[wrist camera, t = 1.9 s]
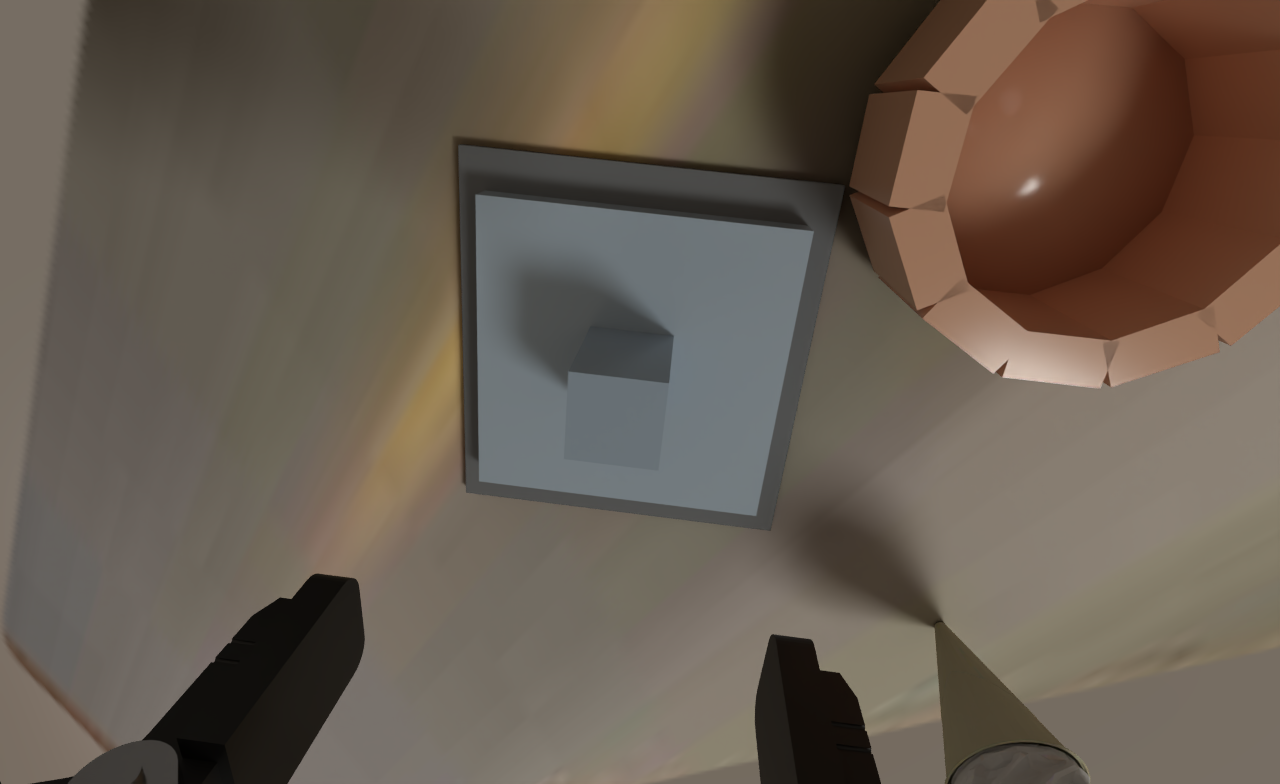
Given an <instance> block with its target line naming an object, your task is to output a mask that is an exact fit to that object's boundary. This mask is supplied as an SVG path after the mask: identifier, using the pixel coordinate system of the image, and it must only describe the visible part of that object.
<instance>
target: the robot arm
mask: <svg viewBox="0 0 1280 784" xmlns="http://www.w3.org/2000/svg"><path fill="white" fill-rule="evenodd" d="M364 641H365V636H364V626H363V617H362V608H361V599H360V590H359V584H358V582H357V580H356V579H354V578H347V577H339V576H332V575H324V574H314V575H312V576H311V577H310V578H309V579H308V580H307V581H306V582H305V583H304V585H303V586H302V587H301V588H300V589H299V591H298V592H297V593H296V594H295V595H294V597H293V598H292V599H287V598H279V599H277V600H276V601H274V602H273V603H271V604H270V605H268V606H267V607H265V608H263V609H262V610H260V611H259V612H257V613H256V614H254V615H253V616H252V617H251V618H250V619H249V620H248V621H247V622H246V623H245V625H244V626H243V627H242V628H241V629H240V630H239V631H238V633H237V634H236V635H235V636H234V637H233V638H232V642H231V643H228V644H227V645H226V646H225V647H224V648H223V650H222V651H221V652H220V653H219V654H218V655H217V656H216V659H215V661H214V663H212V662H211V663H210V664H209V666H208V667H207V668H206V669H205V670H204V671H203V672H202V673H201V675H200V676H199V677H198V678H197V679H196V680H195V681H194V683H193V684H192V685H191V686H190V687H189V688H188V689H187V691H186V692H185V693H184V694H183V695H182V696H181V697H180V698H179V700H178V701H177V702H176V703H175V704H174V705H173V706H172V708H171V709H170V710H169V711H168V712H167V713H166V714H165V716H164V717H163V718H162V719H161V720H160V721H159V722H158V723H157V725H156V726H155V727H154V728H153V729H152V730H151V731H150V733H149V734H148V735H147V736H146V737H145V738H144V739H143V740H142V741H136V742H131V743H128V744H124V745H121V746H119V747H117V748H114V749H112V750H110V751H108V752H106V753H104V754H102V755H100V756H99V757H97V758H96V759H94V760H93V761H92V762H90V763H89V764H87V765H86V766H85V767H83V768H82V769H81V770H80V771H79V772H78V773H77V774H76V775H75V776H73V777H69V778H63V779H57V780H51V781H45V782H39V783H32V784H288V782H289V780H290V779H291V777H292V775H293V774H294V772H295V770H296V769H297V767H298V765H299V764H300V762H301V761H302V759H303V757H304V756H305V754H306V752H307V751H308V749H309V747H310V746H311V744H312V742H313V741H314V739H315V737H316V736H317V734H318V733H319V731H320V729H321V728H322V726H323V724H324V723H325V721H326V719H327V718H328V716H329V714H330V713H331V711H332V709H333V708H334V706H335V705H336V703H337V701H338V700H339V698H340V696H341V695H342V693H343V691H344V690H345V688H346V686H347V685H348V683H349V682H350V680H351V678H352V677H353V675H354V673H355V671H356V670H357V668H358V665H359V663H360V660H361V657H362V653H363V649H364ZM755 729H756V739H757V750H758V760H759V769H760V780H761V784H881V782H880V778H879V774H878V771H877V767H876V764H875V760H874V757H873V754H871V746H870V742H869V738H868V735H867V731H865V724H864V720H863V717H862V713H861V709H860V706H859V702H858V699H857V697H856V696H855V694H854V693H853V691H852V690H851V688H850V687H849V686H848V684H847V683H846V681H845V680H844V679H843V677H842V676H841V674H840V673H836V672H828V671H821V670H820V669H819V664H818V660H817V655H816V651H815V647H814V644H813V641H812V640H811V639H804V638H797V637H789V636H781V635H774V634H772V635H771V636H770V639H769V642H768V647H767V651H766V655H765V659H764V664H763V668H762V672H761V676H760V681H759V685H758V689H757V695H756V704H755ZM0 784H1V782H0Z"/></svg>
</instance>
